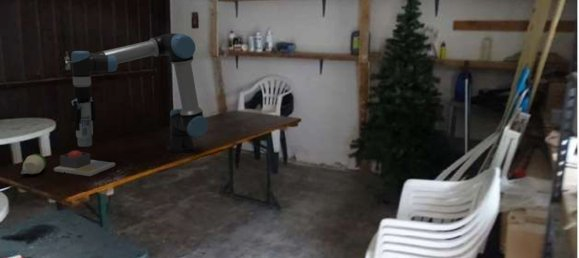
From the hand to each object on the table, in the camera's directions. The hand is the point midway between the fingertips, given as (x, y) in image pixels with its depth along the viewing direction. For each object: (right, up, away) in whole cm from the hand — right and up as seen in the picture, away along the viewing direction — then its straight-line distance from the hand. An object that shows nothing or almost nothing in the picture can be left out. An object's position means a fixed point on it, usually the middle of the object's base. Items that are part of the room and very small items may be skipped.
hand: (84, 135), depth 226 cm
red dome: (-8, -14, +9) cm, 19 cm away
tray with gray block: (-4, -16, +9) cm, 19 cm away
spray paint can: (0, -5, +1) cm, 5 cm away
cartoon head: (-23, -17, +1) cm, 29 cm away
